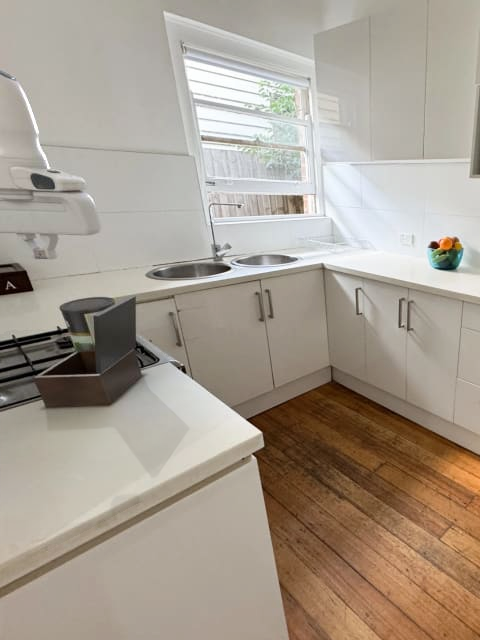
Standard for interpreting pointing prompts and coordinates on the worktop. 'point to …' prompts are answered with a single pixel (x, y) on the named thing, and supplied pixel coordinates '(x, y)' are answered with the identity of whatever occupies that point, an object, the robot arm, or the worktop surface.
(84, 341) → the coffee can
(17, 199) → the robot arm
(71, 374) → the open brown box
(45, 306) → the worktop surface
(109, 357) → the dark grey box door
